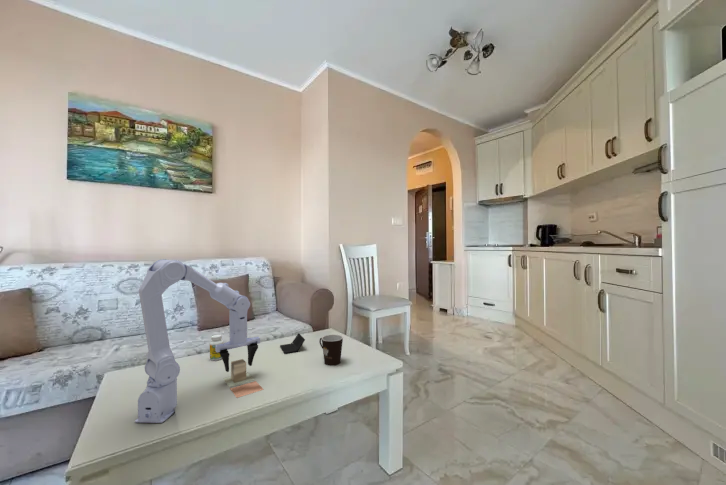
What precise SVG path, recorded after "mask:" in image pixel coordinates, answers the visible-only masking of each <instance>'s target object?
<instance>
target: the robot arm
mask: <svg viewBox="0 0 726 485" xmlns="http://www.w3.org/2000/svg"><path fill="white" fill-rule="evenodd" d="M179 281H185V282H186V281H188V282H190V283H192V284H194V285H196V286H198V287H200V288H201V289H203V290H205V291H207V292H208V293H209V297H210V298H211V299H212V300H215V301H216V302H218V303H220V304H222V305H224V306H225V307H226V309H228V311H229V320H228V321H229V322H228V324H229V327H228V328H229V341H226V342H224V343H223V344H219V345H215V351H216V352H219V353H220V355H221V357H222V359H221V360H222V361H223V365H224V369H225V372H226V373H228V372H230V352H229V350H232V349H237V348H241V347H246V348H247V365H248V366H249V367H251V366H253V362H254V357H255V354H256V352H257V351H258V349H259V344H261V337H259V336H254V337H253V336H252V337H248V310H249V308H250V307H251V302H250V300H249V298H248V296H246V295H244V294H243V295H242V294H240V291H238V290H234V289H232V288H231V287H230V286H229V285H230V284H229V283H227V282H217V283H216V282H214V281H213V280H212V279H210V278H208V277H207V276H205V275H204V274H202V273H201V272H200V271H198V270H196V269H195V268H193V267H191V265H188V264H186V263H184V262H183V261H180V260H177V259H166V258H165V259H164V258H163V259H161V258H160V259H158V260H156V261H155V262H153V263H152V264H151V265H150V266H149V267H148V268H147V269H146V274H145V276H144V278H143V280H142V283H141V285H140V287H139V289H138V295H139V301H140V308H141V314H142V319H143V326H144V332H145V337H146V344H147V350H148V351H147V353H146V362H145V365H144V371H145V374H146V375H147V376H148V379H147V381H146V387H145V389H144V390H143V392H142V393H140V395H139V396H138V398H137V418H136V419H135V420H134V423H152V424H153V423H157V424H161V423H164V422H165V421H166V420H168V419H169V418H170V417H172V415H174V414H175V413H176V408H177V407H178V376H179V375H180V373H181V372H180V371H181V366H180V365H179V363H178V362H177V361H176V358H175V355H174V352H173V351H172V349H171V345H170V339H169V333H168V328H167V326H168V325H167V321H166V314H165V308H164V302H163V301H164V300H163V296H162V295H163V294H164V293H165V292H166V290H168V288H169V287H170V286H172V285H174V284H176V283H178V282H179Z"/></svg>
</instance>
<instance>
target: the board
mask: <svg viewBox="0 0 726 485" xmlns="http://www.w3.org/2000/svg"><path fill="white" fill-rule="evenodd" d="M223 381H224V382H225V383H226V385H227V386H228V387H229V389H230V391H231V393H233V394H234V396H235V398H237V399H238V398H240V397H244V396H247V395H251V394H254V393H257V392H260V391H263V390H264V388H263V387H262V386H261V384H259V383H258V382H257V381H256V380H255V379H254V377H253V376H251V374H250V373H249V372H247V371H246V380H243V381H239V382H236V383H234V382H233V381H232V379H231V376H228V377H225V378H223ZM237 385H238V386H237Z"/></svg>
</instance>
